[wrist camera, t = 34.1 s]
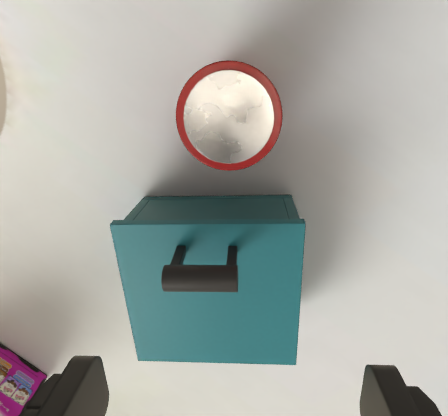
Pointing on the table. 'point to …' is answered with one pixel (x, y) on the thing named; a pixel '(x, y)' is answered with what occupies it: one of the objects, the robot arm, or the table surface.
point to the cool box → (215, 208)
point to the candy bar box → (16, 382)
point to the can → (229, 115)
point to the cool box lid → (212, 288)
